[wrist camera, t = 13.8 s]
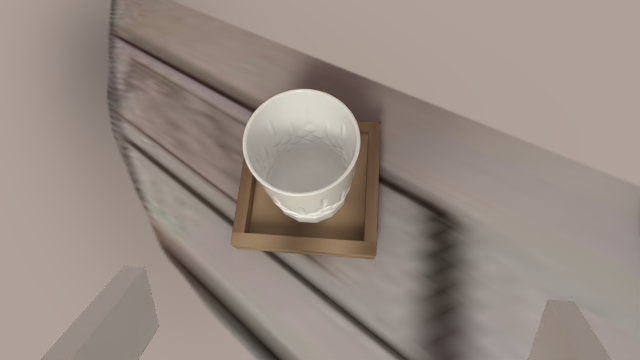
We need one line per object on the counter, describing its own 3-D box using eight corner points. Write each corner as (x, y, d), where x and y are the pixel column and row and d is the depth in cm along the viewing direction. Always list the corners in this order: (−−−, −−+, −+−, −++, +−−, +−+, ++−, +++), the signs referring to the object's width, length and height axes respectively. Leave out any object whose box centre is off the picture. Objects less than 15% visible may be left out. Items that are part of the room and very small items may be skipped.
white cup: (263, 154, 37) (237, 97, 28) (346, 141, 37) (349, 80, 28) (272, 236, 34) (247, 204, 25) (362, 222, 34) (371, 185, 25)
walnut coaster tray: (378, 134, 38) (380, 122, 36) (373, 258, 34) (376, 254, 32) (255, 127, 39) (250, 115, 37) (237, 248, 35) (230, 243, 33)
